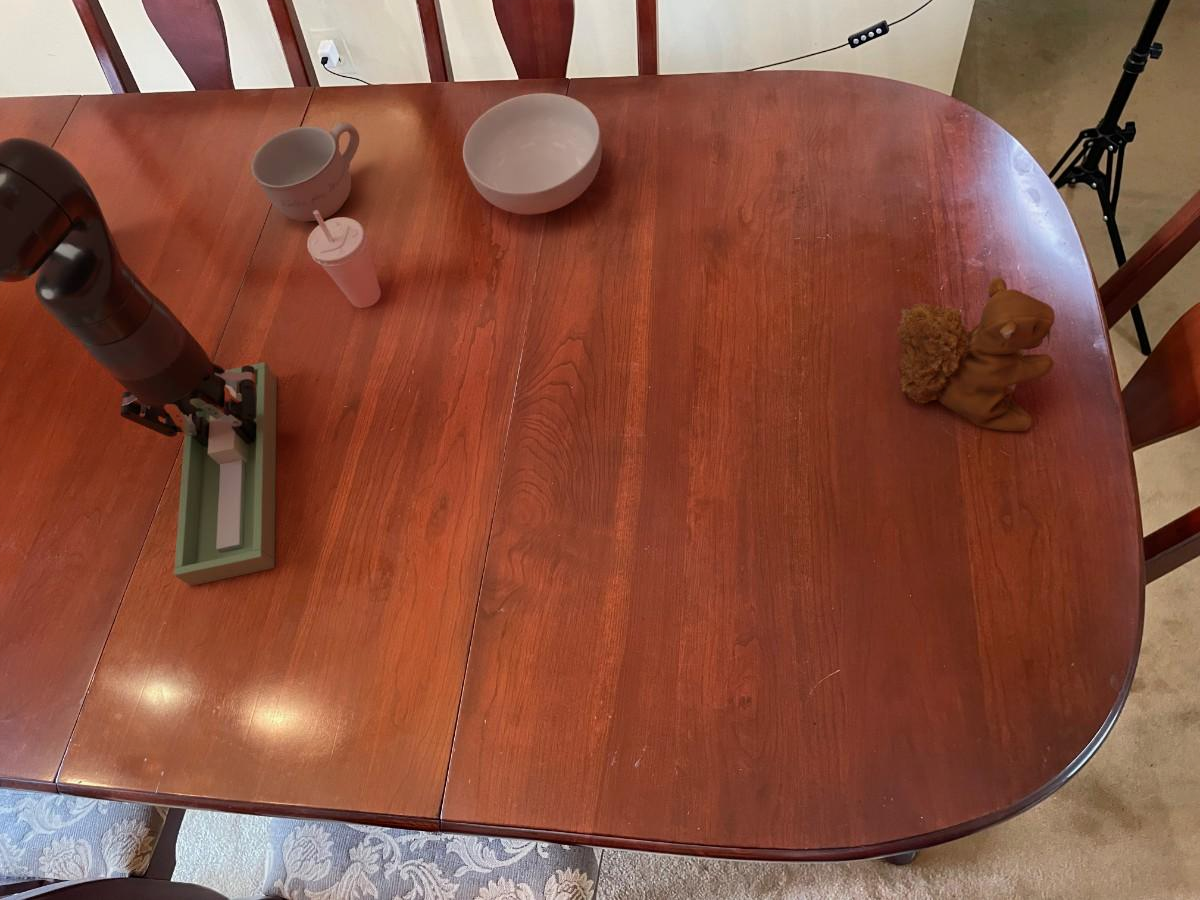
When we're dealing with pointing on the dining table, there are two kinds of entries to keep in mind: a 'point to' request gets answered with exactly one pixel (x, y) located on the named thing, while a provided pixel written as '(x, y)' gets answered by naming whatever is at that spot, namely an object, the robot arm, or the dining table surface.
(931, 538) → the dining table surface
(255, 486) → the tray
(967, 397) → the stuffed squirrel
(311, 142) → the teacup
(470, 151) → the cereal bowl
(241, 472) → the grey block with handle
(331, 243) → the smoothie
